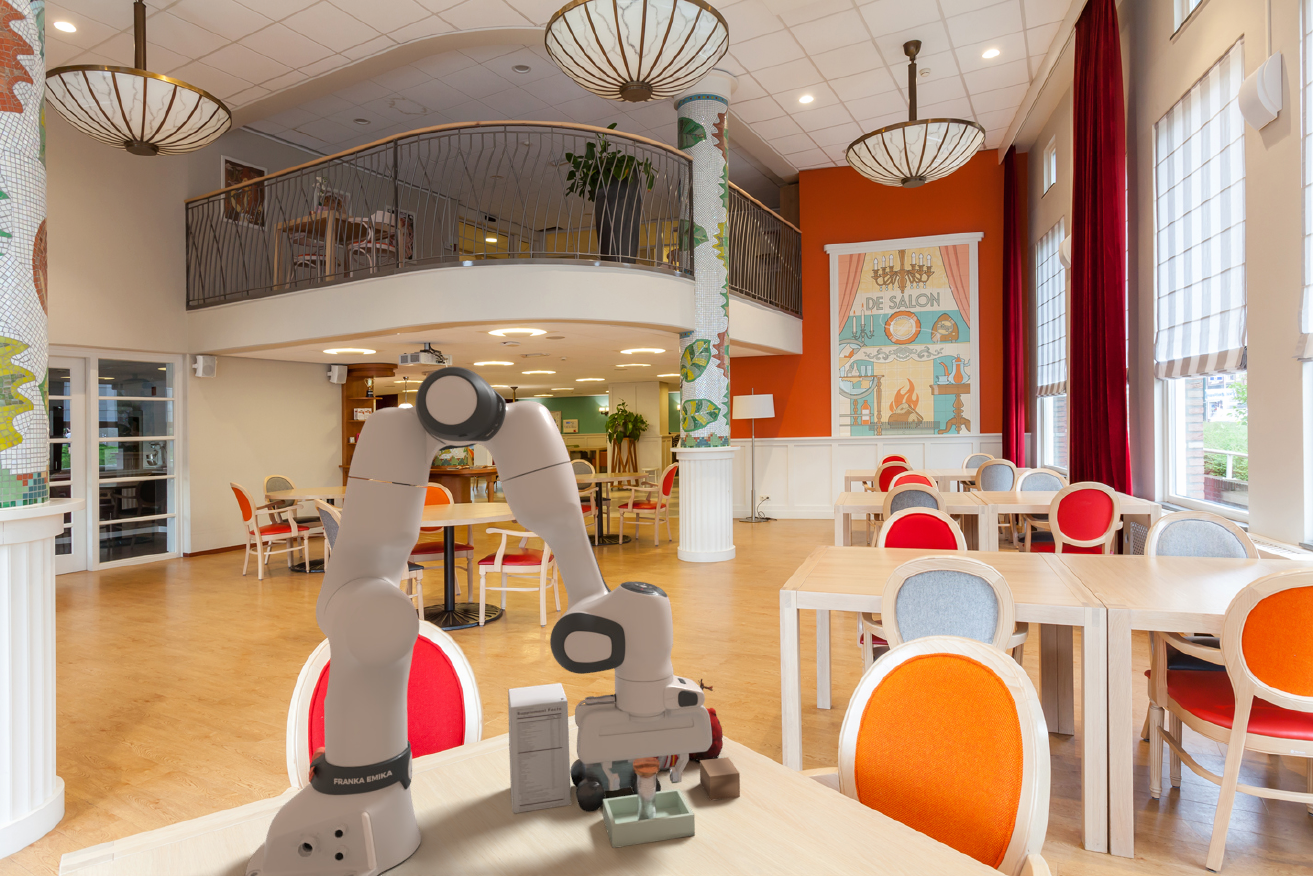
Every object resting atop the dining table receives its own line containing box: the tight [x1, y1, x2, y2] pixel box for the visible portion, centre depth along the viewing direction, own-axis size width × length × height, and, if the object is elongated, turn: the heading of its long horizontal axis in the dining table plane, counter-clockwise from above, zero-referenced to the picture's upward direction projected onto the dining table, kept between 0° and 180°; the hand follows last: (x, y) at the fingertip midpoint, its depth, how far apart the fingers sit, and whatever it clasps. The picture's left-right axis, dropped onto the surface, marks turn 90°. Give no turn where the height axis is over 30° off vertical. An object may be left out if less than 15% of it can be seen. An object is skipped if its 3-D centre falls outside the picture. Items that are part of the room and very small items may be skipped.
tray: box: [602, 788, 696, 849], centre depth 107 cm, size 12×8×3 cm
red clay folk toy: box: [689, 678, 724, 762], centre depth 131 cm, size 8×7×15 cm
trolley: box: [570, 758, 662, 813], centre depth 118 cm, size 13×10×8 cm
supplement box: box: [507, 682, 572, 814], centre depth 117 cm, size 10×9×17 cm
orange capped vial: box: [633, 757, 661, 821], centre depth 107 cm, size 4×4×9 cm
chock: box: [699, 756, 741, 801], centre depth 118 cm, size 5×6×4 cm
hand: (645, 785), depth 107 cm, fingers open, 8 cm apart
